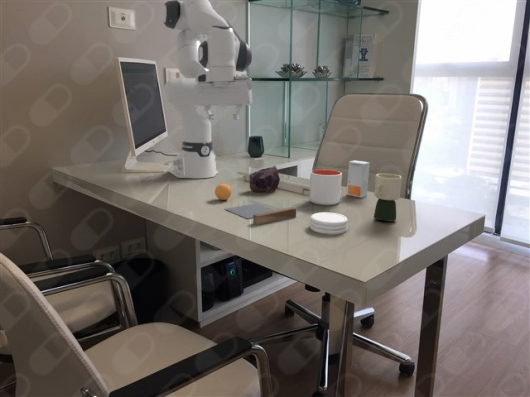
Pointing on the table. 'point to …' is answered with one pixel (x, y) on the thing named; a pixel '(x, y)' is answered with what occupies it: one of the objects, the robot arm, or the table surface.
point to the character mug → (387, 196)
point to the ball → (223, 191)
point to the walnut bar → (274, 215)
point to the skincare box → (358, 178)
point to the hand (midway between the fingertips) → (223, 119)
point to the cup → (325, 187)
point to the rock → (264, 180)
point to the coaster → (328, 223)
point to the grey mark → (249, 210)
